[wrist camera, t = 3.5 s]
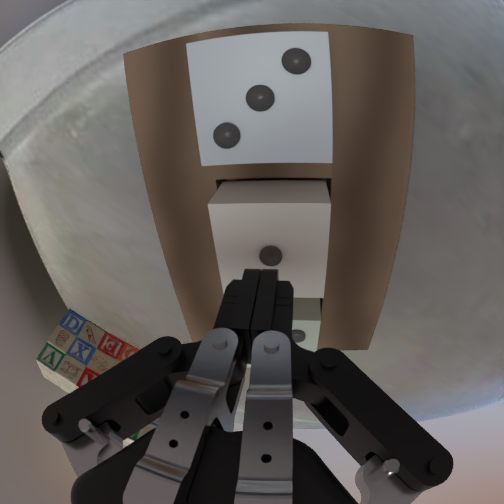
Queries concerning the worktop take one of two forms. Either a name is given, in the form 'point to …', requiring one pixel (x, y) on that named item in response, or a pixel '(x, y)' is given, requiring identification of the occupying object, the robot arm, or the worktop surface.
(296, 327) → the key
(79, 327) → the stack of blocks
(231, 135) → the key
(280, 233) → the key
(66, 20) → the worktop surface
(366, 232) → the key panel
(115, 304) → the worktop surface
